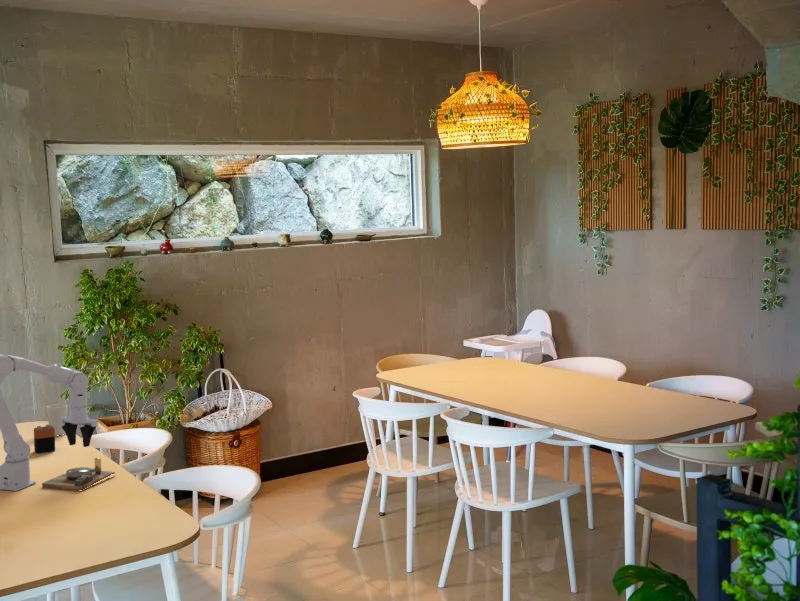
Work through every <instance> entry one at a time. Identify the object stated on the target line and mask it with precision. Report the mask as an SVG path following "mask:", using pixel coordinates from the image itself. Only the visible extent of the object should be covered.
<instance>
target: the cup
mask: <svg viewBox="0 0 800 601" xmlns="http://www.w3.org/2000/svg"><path fill="white" fill-rule="evenodd" d="M46 412H47V419H48V420H47V421H48V424H51V426H52V427H54V429H55V436H57V435H63V434H66V433H65V432H64V430H63V429H62V426H63V425H64V424H65V423H63V424H61V423H60V418H62V417H67V416H68V415H67V414H68V404H67V403H66V404H65V403H57V404H54V403H53V404H50V405H47V406H46ZM57 437H58V436H57Z"/></svg>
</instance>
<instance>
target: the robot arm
mask: <svg viewBox="0 0 800 601" xmlns="http://www.w3.org/2000/svg"><path fill="white" fill-rule="evenodd" d="M22 370H25V371H28V372H31V373H36V374H40V375H42V376H45V378H46V380H47V381H49V382H53V383H55V384H56V383H57V384H60V385H63V386H68V401H69V402H68V404H69V406H68V407H69V410H68V411H69V416H68V417H62V418H60V423H61V424H63V423H65V424H64V425H63V426H62V429H63V430H64V432H65V433H66V435H65V436H66V438H67V441H68V444H69V446H74V445H76V443H77V442H76V441H77V429H78V425H79V426H81V427H79V430H80V433H81V435H82V445H83V448H87V447H90V444H91V439H92V436H93V434H94V433H95V430H96V428H97V427H98V426H99V423H98V420H97V419H93V418H90V417H89V416H88V392H87V387H88V385H89V383H90V380H89V378H88V376H87V375H86V373H84V372H82V371H80V370H78V369H76V368H74V367H72V368H68V367H65V366H63V365H62V364H61V363H56V364H55V363H52V364H49V365H45V364H43V363H39V362H36V361H34V360H30V359H27V358H25V357H21V356H16V355H11V354H6V355H5V354H3V353H0V386H1V385H2V383H3V381H4V380H5V379H6V378H7V377H8V376H9V375H11V373H12V372H19V371H22ZM3 394H4V393H3V392H2V389H1V388H0V432H1V436H2V440H3V450H4V452H5V454H6V456H5V458H4V462H3V463H2V464H1V465H0V490H2V491H5V490H6V491H13V492H16V491H19V490H22V489H25V488H27V487H29V486H32V485H35V484H37V481H33V480H31V475H30V474H31V471H30V456H29V455H30V453H31V447H30V445H29V443H28V442H26V441H25V440H24V438H23V436H22V435H21V433H20V431H19V429H18V426H17V425H16V423H15V420H14V417H13V415H12V413H11V411H10V408H9V406H8V404H7V402H6V398H5V396H4V395H3Z"/></svg>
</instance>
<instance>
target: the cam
mask: <svg viewBox="0 0 800 601" xmlns="http://www.w3.org/2000/svg"><path fill="white" fill-rule="evenodd" d="M101 471H102V458H101V457H94V468H92V467H88V466H87V467H86V466H85V467H84V466H83V467H82V466H81V467H73V468H69V469H67V470H66V478H67V479H70V480H77V479H78V477H80V478H81V476H82V475H91V476H92V472H95V473H96V474H98V473H101Z"/></svg>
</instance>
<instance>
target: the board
mask: <svg viewBox="0 0 800 601" xmlns="http://www.w3.org/2000/svg"><path fill="white" fill-rule="evenodd" d="M114 473H115V474H116V472H115V471H109V470H108V471H107V470H101V473H98V474H96V473H95V472H92V476H91V475H82V476H81V478H80V477H78V479H77V480H70V479H67V478H66V473H64V474H61V475H58V476H56V477H53V478H51V479H49V480H46V481H44V482H41V485H42V487H41V488H42V489H53V490H62V489H64V490H63V491H72V490H83V489H85V488H87V487H89V486H91V485H93V484H94V483H96V482H98V481H100V480H102V479H104V478H106V477H108V476H110V475H111V474H114ZM83 491H84V490H83Z"/></svg>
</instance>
